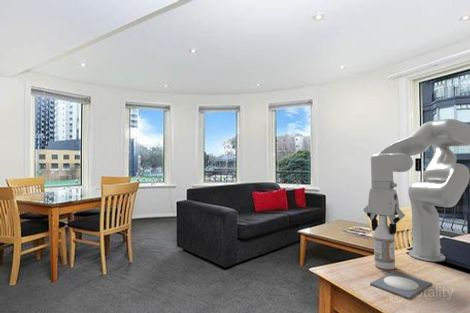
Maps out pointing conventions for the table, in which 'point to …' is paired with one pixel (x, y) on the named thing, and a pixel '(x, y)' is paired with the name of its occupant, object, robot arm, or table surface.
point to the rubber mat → (401, 284)
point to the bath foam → (384, 245)
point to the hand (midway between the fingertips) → (383, 231)
